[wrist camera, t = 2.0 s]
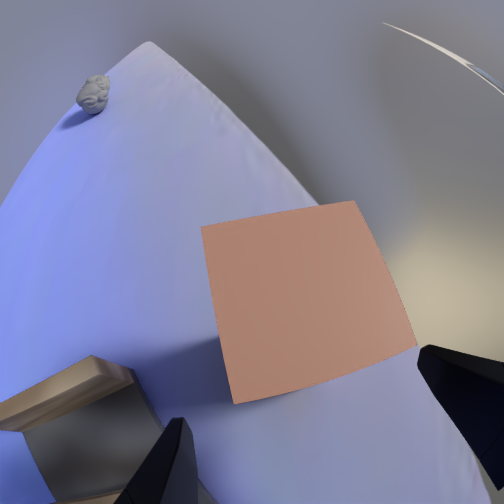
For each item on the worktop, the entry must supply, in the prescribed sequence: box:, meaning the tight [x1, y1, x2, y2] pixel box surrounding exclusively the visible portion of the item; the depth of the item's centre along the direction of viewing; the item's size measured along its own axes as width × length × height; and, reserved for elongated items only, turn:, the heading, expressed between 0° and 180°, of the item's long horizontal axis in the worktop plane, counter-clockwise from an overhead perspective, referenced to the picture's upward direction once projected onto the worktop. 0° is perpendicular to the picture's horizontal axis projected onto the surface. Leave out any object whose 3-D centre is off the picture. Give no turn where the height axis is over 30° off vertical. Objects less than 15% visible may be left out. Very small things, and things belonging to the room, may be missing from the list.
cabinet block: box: [201, 200, 417, 404], centre depth 13 cm, size 6×5×13 cm
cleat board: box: [0, 355, 218, 504], centre depth 10 cm, size 13×14×6 cm
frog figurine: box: [76, 75, 110, 114], centre depth 34 cm, size 6×7×7 cm
